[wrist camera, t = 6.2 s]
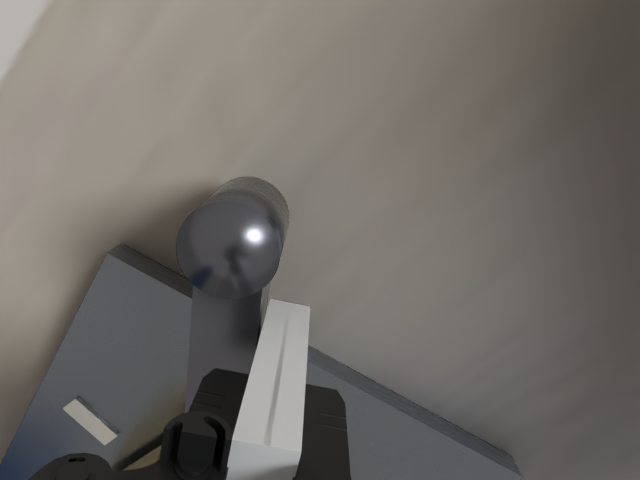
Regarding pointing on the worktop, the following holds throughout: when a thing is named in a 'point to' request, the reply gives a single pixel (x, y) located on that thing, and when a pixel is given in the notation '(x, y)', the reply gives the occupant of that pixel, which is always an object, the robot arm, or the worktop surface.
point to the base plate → (171, 380)
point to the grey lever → (228, 277)
